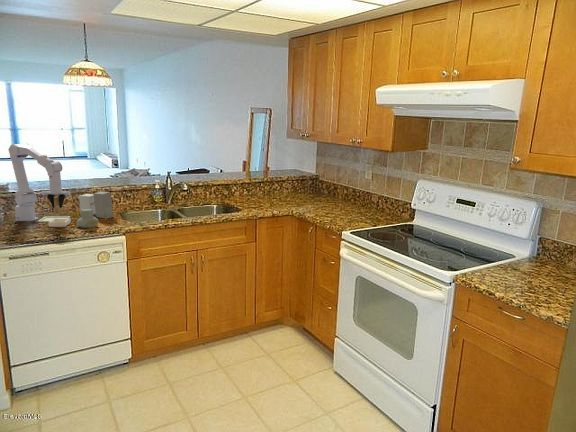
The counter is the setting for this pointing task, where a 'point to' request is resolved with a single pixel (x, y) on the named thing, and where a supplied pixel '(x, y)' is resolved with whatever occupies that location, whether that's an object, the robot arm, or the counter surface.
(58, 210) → the dowel
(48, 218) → the tray
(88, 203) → the supplement box
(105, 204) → the skincare box
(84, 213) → the air freshener
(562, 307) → the counter surface
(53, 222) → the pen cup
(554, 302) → the counter surface
